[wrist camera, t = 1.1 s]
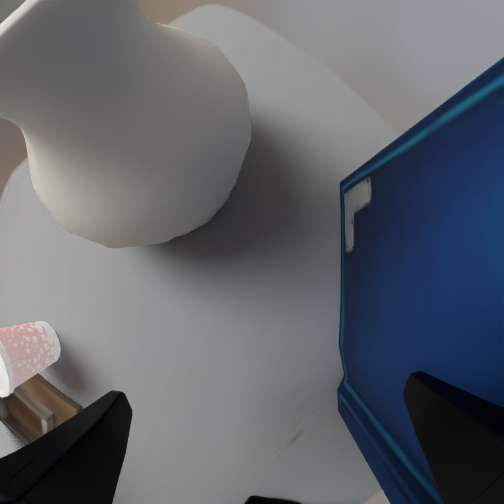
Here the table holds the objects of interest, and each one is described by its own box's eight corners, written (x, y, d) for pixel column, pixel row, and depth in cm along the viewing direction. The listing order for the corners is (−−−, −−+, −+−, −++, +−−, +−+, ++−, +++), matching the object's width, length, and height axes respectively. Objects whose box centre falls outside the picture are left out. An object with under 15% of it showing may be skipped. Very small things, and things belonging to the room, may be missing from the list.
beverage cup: (44, 303, 21) (-61, 323, 7) (75, 354, 21) (-24, 406, 7) (21, 330, 21) (-67, 356, 7) (49, 377, 21) (-35, 424, 7)
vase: (258, 103, 22) (273, -106, 2) (241, 261, 22) (153, 274, 2) (117, 104, 22) (11, -28, 2) (87, 244, 22) (-115, 219, 2)
